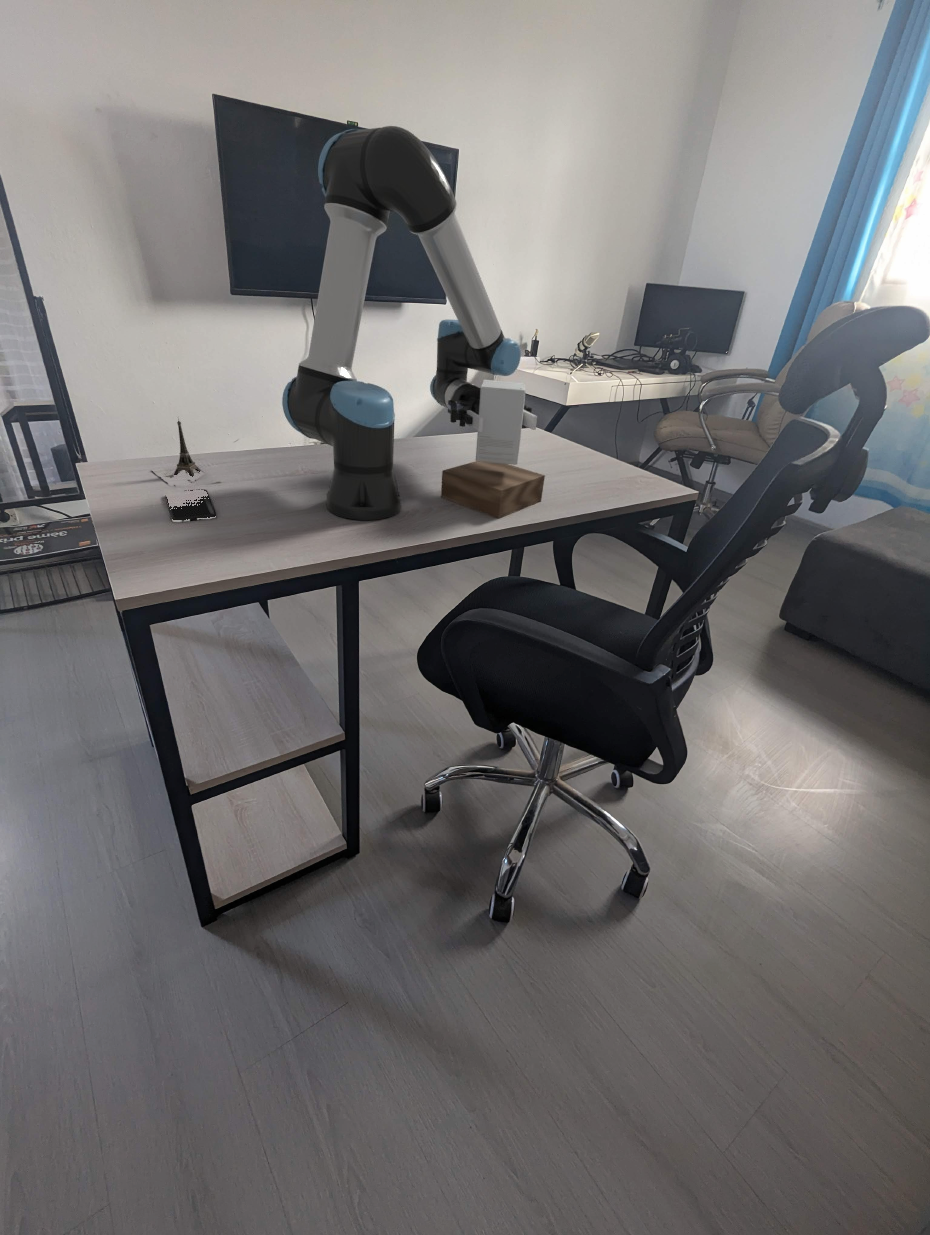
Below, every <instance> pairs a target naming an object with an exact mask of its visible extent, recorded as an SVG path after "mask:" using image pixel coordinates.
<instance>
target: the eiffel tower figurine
mask: <svg viewBox="0 0 930 1235" xmlns="http://www.w3.org/2000/svg"><path fill="white" fill-rule="evenodd" d="M177 418H178V421H177V422H176V423H177V426H178V436H179V449H180V450H179V458H178V459H179V460H178V463H177V464H176V469H175V471H174V473H173V474H174V475H177V474H178V473H180V471H181V470H185V471H186V472H188V473H189V475H190V476H192V477H193V476H194V473H195V472H194V470H195V471H196V472H197V471H199V472H200V471H202V470H201V469H200V468H199V467H198V466H197V465H196V462H195V461H194V460H193V459H192V457H191V455H190V452H189V451H188V448H187V444H186V441H185V440H186V439H185V437H184V433H183V428H182V421H180V419H179V417H177Z"/></svg>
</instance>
